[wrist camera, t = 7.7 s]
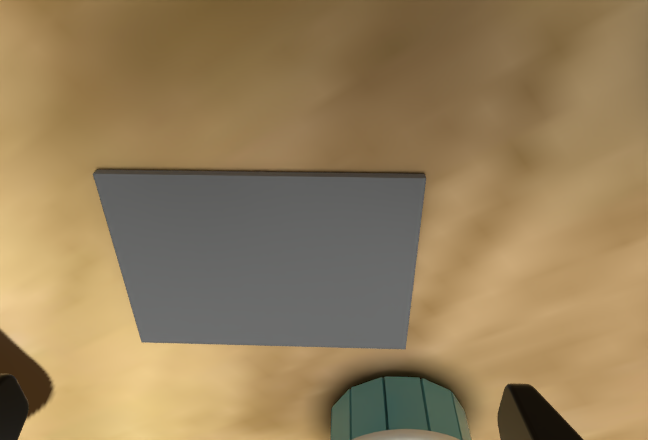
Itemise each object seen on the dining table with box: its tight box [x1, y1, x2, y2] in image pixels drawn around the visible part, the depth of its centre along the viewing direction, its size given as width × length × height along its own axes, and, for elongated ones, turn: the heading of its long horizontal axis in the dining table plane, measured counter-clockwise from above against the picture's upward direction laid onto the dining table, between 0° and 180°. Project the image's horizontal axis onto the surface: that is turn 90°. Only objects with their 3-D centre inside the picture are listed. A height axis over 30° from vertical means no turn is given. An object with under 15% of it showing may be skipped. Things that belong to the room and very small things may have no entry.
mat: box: [93, 170, 426, 349], centre depth 23 cm, size 14×10×1 cm
